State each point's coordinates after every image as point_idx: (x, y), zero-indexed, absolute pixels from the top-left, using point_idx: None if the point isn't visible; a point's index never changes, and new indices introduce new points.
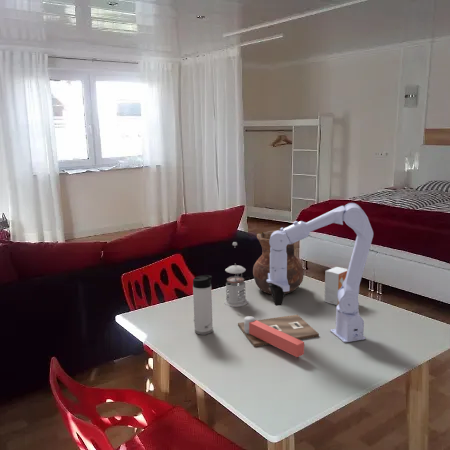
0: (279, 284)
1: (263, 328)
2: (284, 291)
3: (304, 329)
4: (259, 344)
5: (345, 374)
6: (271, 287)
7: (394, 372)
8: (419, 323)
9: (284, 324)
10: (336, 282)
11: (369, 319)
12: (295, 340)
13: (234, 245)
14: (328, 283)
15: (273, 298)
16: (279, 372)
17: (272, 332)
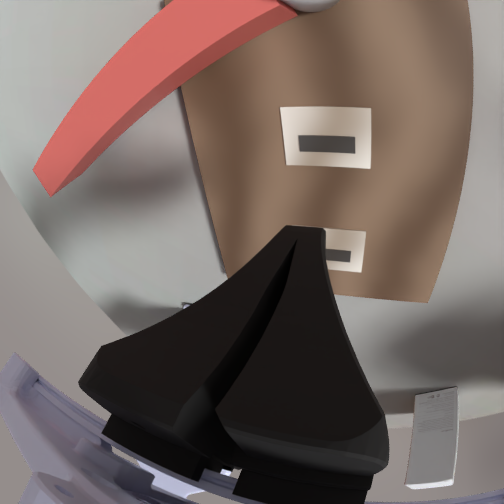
0: (7, 421)
1: (131, 44)
2: (15, 357)
3: None
4: None
5: (59, 225)
6: (138, 395)
7: (88, 295)
8: None
9: (359, 208)
10: (415, 458)
11: None
12: (51, 173)
13: None
14: (443, 445)
15: (310, 263)
16: (38, 86)
17: (90, 92)
